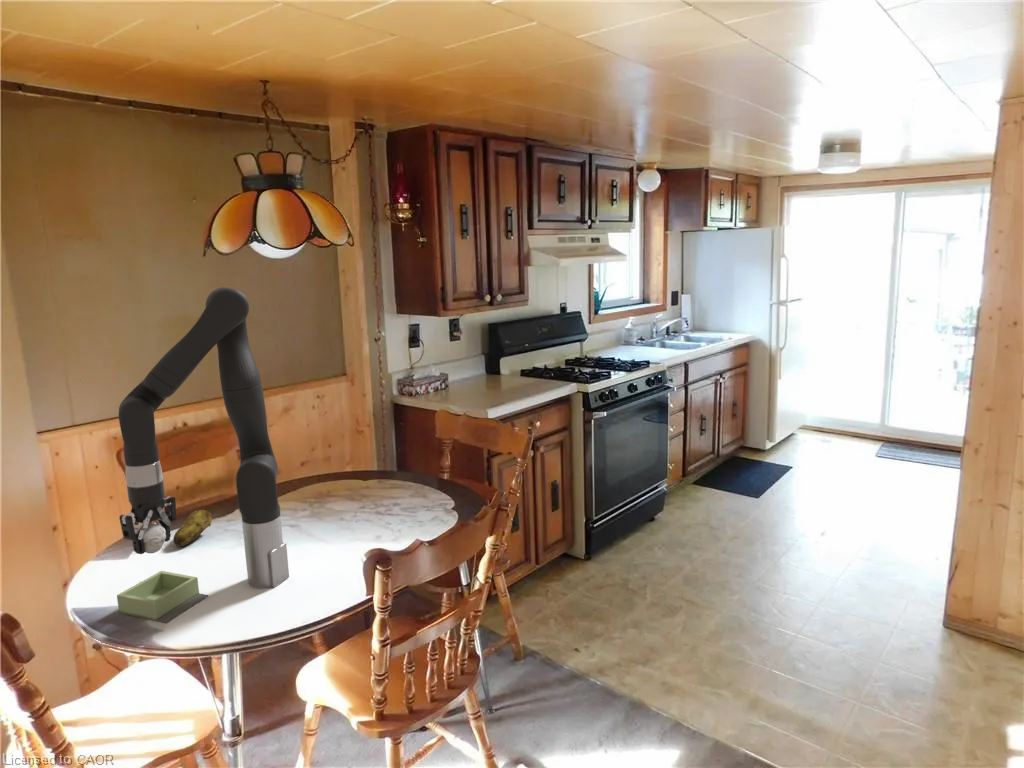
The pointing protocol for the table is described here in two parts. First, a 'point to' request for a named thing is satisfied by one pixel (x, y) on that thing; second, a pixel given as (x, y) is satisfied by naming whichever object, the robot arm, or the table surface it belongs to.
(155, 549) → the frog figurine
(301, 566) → the table surface
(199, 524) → the potato
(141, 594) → the tray
